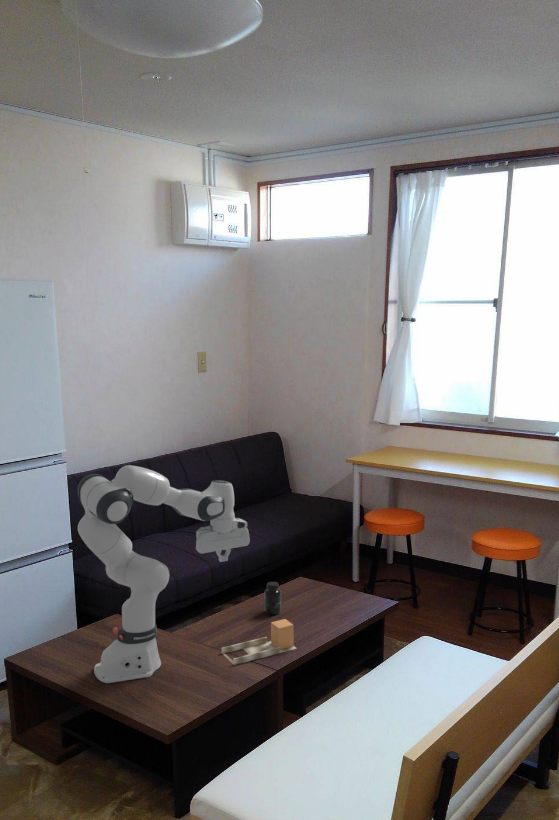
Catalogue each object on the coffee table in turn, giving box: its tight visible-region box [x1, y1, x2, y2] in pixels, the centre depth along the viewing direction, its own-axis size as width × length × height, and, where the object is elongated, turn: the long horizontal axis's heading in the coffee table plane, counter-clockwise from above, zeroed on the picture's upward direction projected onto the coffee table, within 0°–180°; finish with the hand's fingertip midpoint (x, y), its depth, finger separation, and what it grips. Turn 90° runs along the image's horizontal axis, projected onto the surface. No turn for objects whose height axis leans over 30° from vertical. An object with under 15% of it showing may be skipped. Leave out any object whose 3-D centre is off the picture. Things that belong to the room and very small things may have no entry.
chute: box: [221, 636, 298, 666], centre depth 250 cm, size 25×10×4 cm, turn 119°
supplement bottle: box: [264, 581, 282, 616], centre depth 288 cm, size 7×7×12 cm
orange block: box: [270, 618, 295, 650], centre depth 254 cm, size 6×6×8 cm
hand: (223, 560), depth 257 cm, fingers closed
